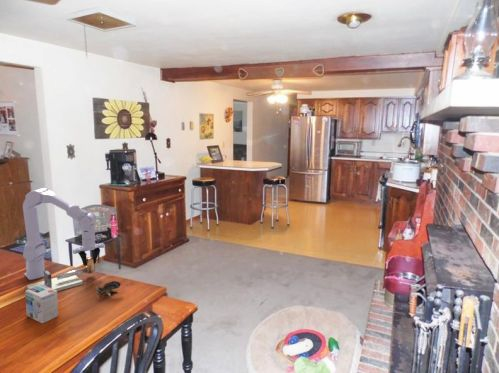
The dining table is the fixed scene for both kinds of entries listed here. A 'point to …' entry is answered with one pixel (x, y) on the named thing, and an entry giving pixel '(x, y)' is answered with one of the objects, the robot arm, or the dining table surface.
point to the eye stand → (57, 282)
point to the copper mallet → (88, 269)
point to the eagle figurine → (108, 288)
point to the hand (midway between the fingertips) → (89, 264)
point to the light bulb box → (41, 303)
